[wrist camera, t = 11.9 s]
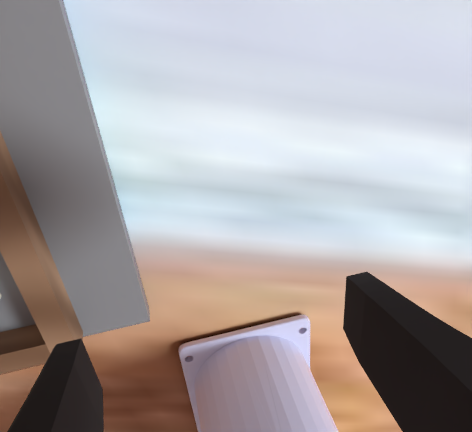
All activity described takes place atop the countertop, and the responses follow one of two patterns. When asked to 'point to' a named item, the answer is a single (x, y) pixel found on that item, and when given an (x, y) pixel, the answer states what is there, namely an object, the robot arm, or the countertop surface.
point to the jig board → (55, 197)
